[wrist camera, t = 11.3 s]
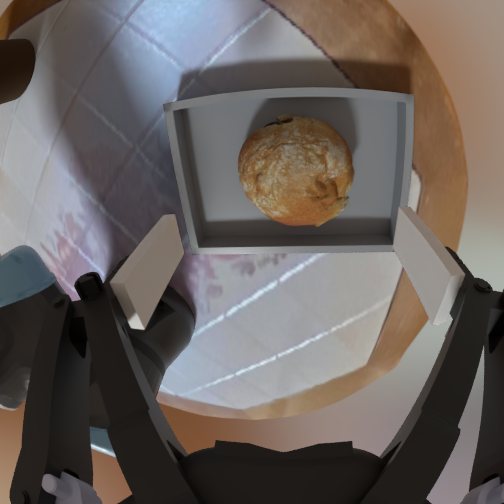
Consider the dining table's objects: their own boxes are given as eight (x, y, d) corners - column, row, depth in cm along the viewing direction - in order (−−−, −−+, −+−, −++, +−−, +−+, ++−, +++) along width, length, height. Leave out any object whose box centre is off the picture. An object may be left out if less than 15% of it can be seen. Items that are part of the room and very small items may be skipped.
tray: (200, 240, 32) (192, 254, 29) (176, 102, 24) (163, 104, 21) (391, 237, 28) (399, 251, 26) (401, 93, 20) (413, 95, 18)
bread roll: (325, 111, 25) (314, 78, 17) (371, 202, 25) (381, 200, 18) (241, 153, 29) (205, 138, 21) (282, 241, 29) (258, 255, 21)
